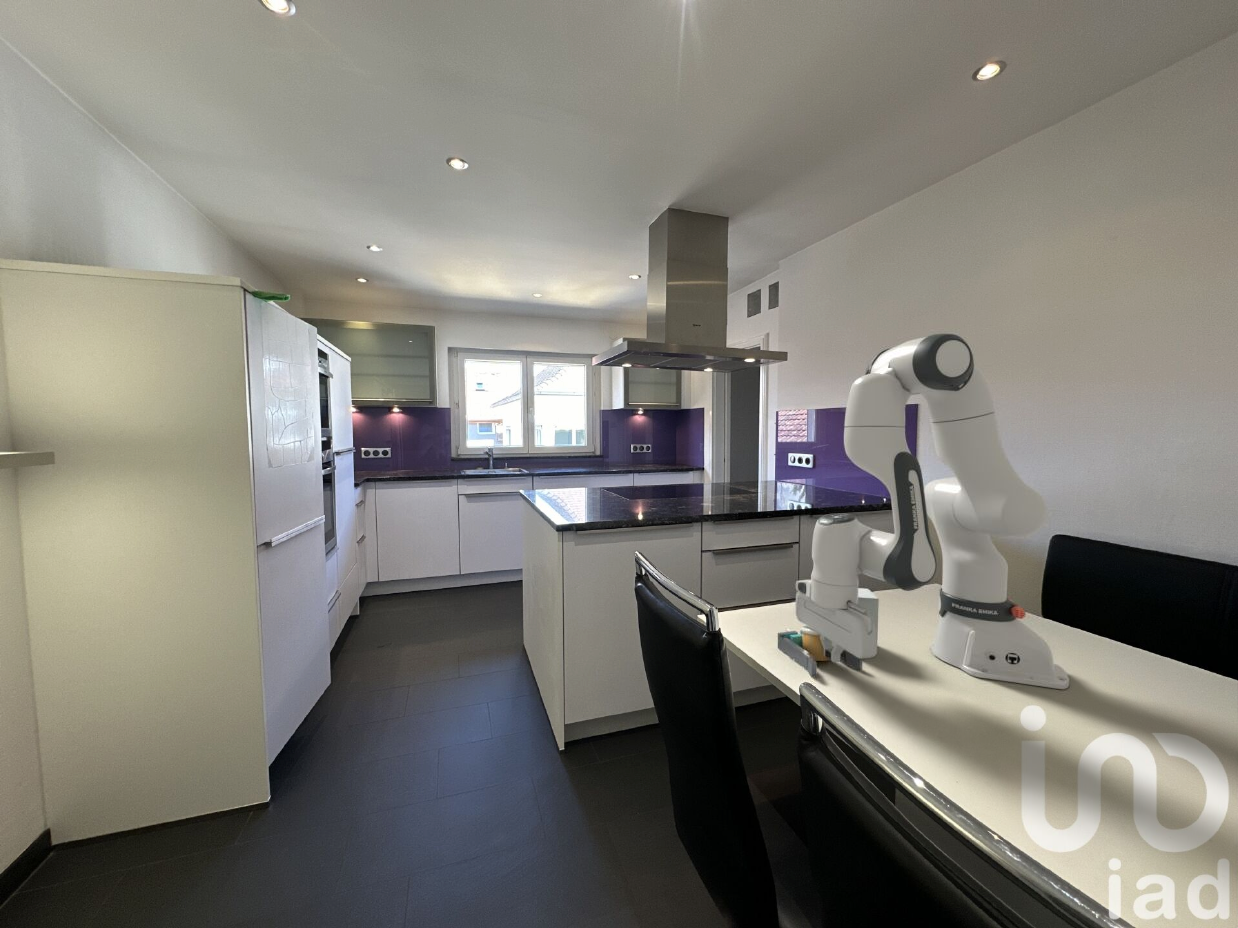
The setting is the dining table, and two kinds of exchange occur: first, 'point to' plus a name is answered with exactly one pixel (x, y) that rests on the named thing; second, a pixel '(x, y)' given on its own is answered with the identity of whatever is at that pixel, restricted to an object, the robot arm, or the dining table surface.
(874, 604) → the supplement box
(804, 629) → the amber jar
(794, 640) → the teal open box
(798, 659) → the lane
